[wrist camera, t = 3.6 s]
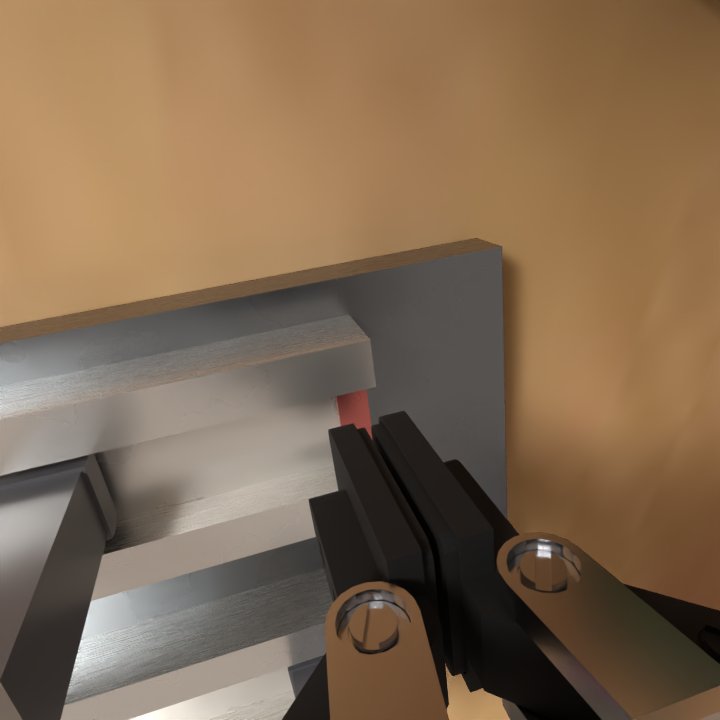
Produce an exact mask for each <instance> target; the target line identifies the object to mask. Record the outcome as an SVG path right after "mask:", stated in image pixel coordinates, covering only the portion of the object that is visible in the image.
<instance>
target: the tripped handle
mask: <svg viewBox="0 0 720 720" xmlns="http://www.w3.org/2000/svg"><path fill="white" fill-rule="evenodd" d="M117 521H118V514H117V511H116V509H115V506H114V504H113V501H112V499H111V496H110V493H109V491H108V488H107V486H106V483H105V480H104V478H103V475H102V473H101V470H100V468H99V465H98V462H97V460H96V457H95V455H94V454H90V455H85V456H81V457H77V458H73V459H68V460H64V461H60V462H56V463H52V464H47V465H43V466H39V467H35V468H30V469H26V470H22V471H18V472H13V473H9V474H5V475H1V476H0V720H60V719H61V716H62V712H63V708H64V704H65V700H66V696H67V692H68V688H69V684H70V680H71V676H72V673H73V669H74V665H75V661H76V657H77V653H78V649H79V645H80V641H81V637H82V633H83V630H84V626H85V622H86V618H87V614H88V610H89V606H90V602H91V598H92V594H93V590H94V586H95V583H96V579H97V575H98V571H99V567H100V563H101V559H102V555H103V551H104V547H105V543H106V540H108V539H112V538H113V537H114V533H115V529H116V525H117Z"/></svg>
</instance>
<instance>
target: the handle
mask: <svg viewBox="0 0 720 720" xmlns="http://www.w3.org/2000/svg"><path fill="white" fill-rule="evenodd" d="M323 656H324V655H322V656H319V657H316V658H313V659H310V660H307V661H304V662H301V663H298V664H295V665H292V666H289V667H288V673H289V677H290V680H291V684H292V688H293V692H294V695H295V699H296V697H297V696H298V694H299V693H300V691H301V690H302V688H303V687H304V685H305V683H306V682H307V680H308V679H309V677H310V676H311V674H312V673H313V671H314V670H315V668H316V667H317V665H318V664H319V662H320V661H321V659H322V658H323Z"/></svg>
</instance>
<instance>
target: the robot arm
mask: <svg viewBox="0 0 720 720" xmlns="http://www.w3.org/2000/svg"><path fill="white" fill-rule="evenodd" d="M378 422H379V424H375V425H372V426H371V433H372V439H371V437H370V435H369V434H368V432H367V430H366V428H365V427H363V428H359V429H357V428H356V426H355V425H354V423H352V424H348V425H344V426H340V427H336V428H332V429H328V434H329V441H330V446H331V452H332V458H333V463H334V469H335V475H336V480H337V486H338V491H336V492H332V493H329V494H325V495H321V496H318V497H314V498H310V499H309V506H310V511H311V516H312V521H313V525H314V530H315V535H316V539H317V544H318V548H319V552H320V556H321V560H322V564H323V568H324V572H325V575H326V579H327V582H328V586H329V590H330V593H331V597H332V601H333V603H332V605H331V607H330V609H329V611H328V613H327V615H326V622H325V642H326V653H325V655H324V656H323V658H322V659H321V661H320V662H319V664H318V665H317V667H316V668H315V670H314V671H313V673H312V674H311V676H310V677H309V679H308V680H307V682H306V683H305V685H304V687H303V688H302V690H301V691H300V693H299V694H298V696H297V697H296V699H295V700H294V702H293V703H292V705H291V706H290V708H289V709H288V711H287V712H286V714H285V715H284V717H283V719H282V720H449V718H448V714H447V707H448V705H449V700H448V690H447V679H446V668H445V663H446V666H447V668H448V670H449V672H450V673H451V675H452V676H455V675H458V674H462V676H463V678H464V680H465V682H466V685H467V687H468V689H469V691H470V692H473V691H476V690H478V689H481V688H483V689H484V691H486V692H488V693H491V694H493V695H496V696H498V697H500V698H502V703H503V706H504V708H505V710H506V712H507V714H508V716H509V718H510V719H511V720H720V611H718V610H715V609H711V608H708V607H704V606H701V605H697V604H693V603H690V602H686V601H683V600H679V599H676V598H672V597H668V596H665V595H661V594H658V593H654V592H651V591H647V590H644V589H640V588H636V587H633V586H629V585H626V584H623V583H621V582H620V581H619V580H618V579H617V578H615V577H614V576H613V575H612V574H610V573H609V572H608V571H607V570H606V569H604V568H603V567H602V566H601V565H600V564H598V563H597V562H596V561H595V560H594V559H592V558H591V557H590V556H589V555H588V554H586V553H585V552H584V551H583V550H582V549H580V548H579V547H578V546H576V545H575V544H573V543H572V542H570V541H569V540H567V539H564V538H562V537H559V536H556V535H554V534H547V533H541V532H537V533H525V534H521V535H519V534H518V533H517V531H516V530H515V529H514V528H513V526H512V525H511V524H510V523H509V521H508V520H507V519H506V518H505V516H504V515H503V514H502V513H501V511H500V510H499V509H498V508H497V506H496V505H495V504H494V503H493V502H492V500H491V499H490V498H489V497H488V495H487V494H486V493H485V492H484V490H483V489H482V488H481V487H480V485H479V484H478V483H477V482H476V480H475V479H474V478H473V477H472V475H471V474H470V473H469V472H468V470H467V469H466V468H465V467H464V466H463V464H462V463H461V462H460V461H459V460H456V459H453V460H450V461H446V462H443V461H442V460H441V458H440V457H439V456H438V454H437V453H436V452H435V450H434V449H433V448H432V446H431V445H430V444H429V442H428V441H427V440H426V438H425V437H424V436H423V434H422V433H421V432H420V430H419V429H418V428H417V426H416V425H415V424H414V422H413V421H412V420H411V418H410V417H409V416H408V414H407V413H406V412H405V411H400V412H396V413H392V414H388V415H384V416H380V417H379V421H378ZM372 440H373V441H372Z"/></svg>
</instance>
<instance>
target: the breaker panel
mask: <svg viewBox="0 0 720 720" xmlns="http://www.w3.org/2000/svg"><path fill="white" fill-rule="evenodd" d="M400 411H405V412H406V413H407V414H408V416H409V417H410V418H411V420H412V421H413V422H414V424H415V425H416V426H417V428H418V429H419V430H420V432H421V433H422V434H423V436H424V437H425V438H426V440H427V441H428V442H429V444H430V445H431V446H432V448H433V449H434V450H435V452H436V453H437V454H438V456H439V457H440V458H441V460H442V461H443V462H446V461H450V460H453V459H456V460H459V461H460V462H461V463H462V464H463V466H464V467H465V468H466V469H467V470H468V472H469V473H470V474H471V475H472V477H473V478H474V479H475V480H476V482H477V483H478V484H479V485H480V487H481V488H482V489H483V490H484V492H485V493H486V494H487V495H488V497H489V498H490V499H491V500H492V502H493V503H494V504H495V505H496V506H497V508H498V509H499V510H500V511H501V513H502V514H503V515H504V516H505V518H506V519H507V489H506V436H505V382H504V329H503V275H502V247H501V246H499V245H496V244H493V243H490V242H487V241H484V240H481V239H478V238H474V239H469V240H464V241H458V242H453V243H448V244H442V245H437V246H432V247H426V248H421V249H416V250H410V251H405V252H400V253H394V254H389V255H384V256H378V257H373V258H368V259H362V260H357V261H352V262H346V263H341V264H336V265H330V266H325V267H320V268H314V269H309V270H304V271H298V272H293V273H288V274H282V275H277V276H272V277H266V278H261V279H256V280H250V281H245V282H240V283H234V284H229V285H224V286H218V287H213V288H208V289H203V290H197V291H192V292H187V293H181V294H176V295H171V296H165V297H160V298H155V299H149V300H144V301H139V302H133V303H128V304H123V305H117V306H112V307H107V308H101V309H96V310H91V311H85V312H80V313H75V314H69V315H64V316H59V317H53V318H48V319H43V320H37V321H32V322H27V323H21V324H16V325H11V326H5V327H0V476H1V475H5V474H9V473H13V472H18V471H22V470H26V469H30V468H35V467H39V466H43V465H47V464H52V463H56V462H60V461H64V460H68V459H73V458H77V457H81V456H85V455H90V454H94V455H95V457H96V460H97V462H98V465H99V468H100V470H101V473H102V475H103V478H104V480H105V483H106V486H107V488H108V491H109V493H110V496H111V499H112V501H113V504H114V506H115V509H116V511H117V514H118V521H117V525H116V529H115V533H114V537H113V538H112V539H108V540H106V543H105V547H104V551H103V555H102V559H101V563H100V567H99V571H98V575H97V579H96V583H95V586H94V590H93V594H92V598H91V602H90V606H89V610H88V614H87V618H86V622H85V626H84V630H83V633H82V637H81V641H80V645H79V649H78V653H77V657H76V661H75V665H74V669H73V673H72V676H71V680H70V684H69V688H68V692H67V696H66V700H65V704H64V708H63V712H62V716H61V719H60V720H282V719H283V717H284V715H285V714H286V712H287V711H288V709H289V708H290V706H291V705H292V703H293V702H294V700H295V695H294V692H293V688H292V684H291V680H290V677H289V673H288V667H289V666H292V665H295V664H298V663H301V662H304V661H307V660H310V659H313V658H316V657H319V656H322V655H325V653H326V642H325V622H326V615H327V613H328V611H329V609H330V607H331V605H332V603H333V601H332V597H331V593H330V590H329V586H328V582H327V579H326V575H325V572H324V568H323V564H322V560H321V556H320V552H319V548H318V544H317V539H316V535H315V530H314V525H313V521H312V516H311V511H310V506H309V499H310V498H314V497H318V496H321V495H325V494H329V493H332V492H336V491H338V486H337V480H336V475H335V469H334V463H333V458H332V452H331V446H330V441H329V434H328V429H332V428H336V427H340V426H344V425H348V424H352V423H354V425H355V426H356V428H357V429H359V428H363V427H365V428H366V430H367V432H368V434H369V435H370V437H371V439H372V433H371V426H372V425H375V424H379V422H378V421H379V417H380V416H384V415H388V414H392V413H396V412H400ZM372 441H373V440H372Z"/></svg>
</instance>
